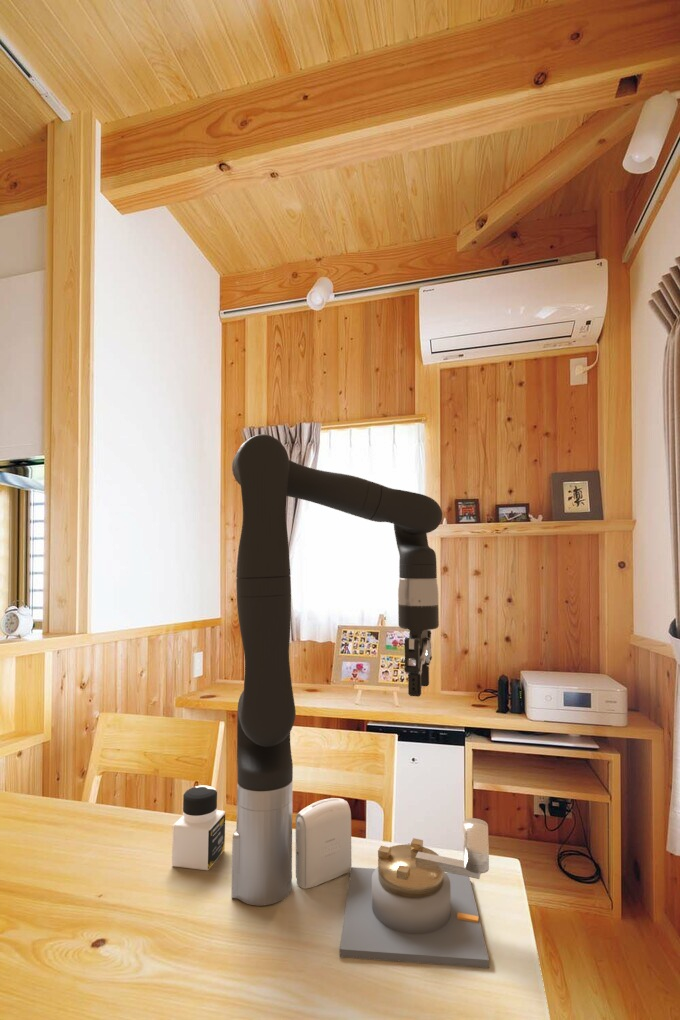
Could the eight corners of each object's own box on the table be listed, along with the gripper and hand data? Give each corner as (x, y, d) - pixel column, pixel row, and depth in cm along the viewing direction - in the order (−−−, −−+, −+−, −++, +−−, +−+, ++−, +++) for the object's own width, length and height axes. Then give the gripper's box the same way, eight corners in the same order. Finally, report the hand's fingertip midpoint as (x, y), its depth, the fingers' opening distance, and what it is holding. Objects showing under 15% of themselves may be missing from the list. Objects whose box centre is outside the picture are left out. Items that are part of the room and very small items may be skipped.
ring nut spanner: (369, 888, 80) (369, 820, 81) (388, 854, 90) (388, 794, 91) (485, 916, 74) (483, 842, 75) (493, 876, 83) (491, 811, 84)
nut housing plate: (339, 957, 74) (339, 917, 74) (351, 873, 94) (351, 842, 94) (489, 968, 72) (488, 927, 72) (468, 880, 92) (468, 849, 92)
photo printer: (304, 893, 88) (304, 813, 89) (291, 880, 92) (291, 804, 93) (355, 872, 94) (355, 798, 95) (341, 861, 97) (341, 789, 99)
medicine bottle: (208, 871, 94) (210, 799, 95) (171, 867, 96) (173, 796, 97) (225, 850, 101) (226, 783, 102) (190, 846, 103) (191, 780, 104)
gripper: (432, 606, 94) (433, 701, 93) (443, 600, 108) (444, 684, 106) (390, 604, 97) (390, 698, 95) (406, 599, 110) (407, 681, 108)
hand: (419, 690), depth 101 cm, fingers open, 8 cm apart
